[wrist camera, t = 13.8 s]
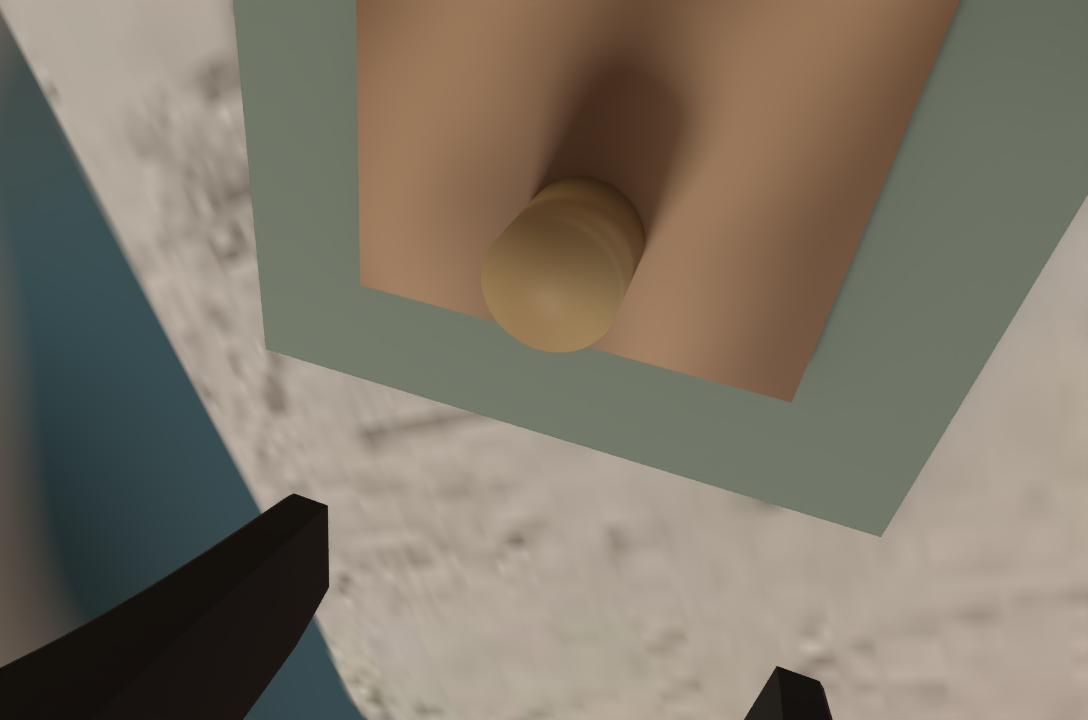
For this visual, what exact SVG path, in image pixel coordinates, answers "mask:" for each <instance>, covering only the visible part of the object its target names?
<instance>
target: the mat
mask: <svg viewBox="0 0 1088 720" xmlns="http://www.w3.org/2000/svg"><path fill="white" fill-rule="evenodd" d="M233 6H234V16H235V27H236V37H237V48H238V59H239V69H240V80H241V90H242V101H243V111H244V122H245V133H246V143H247V154H248V164H249V175H250V186H251V196H252V207H253V217H254V228H255V238H256V249H257V260H258V270H259V281H260V291H261V302H262V312H263V323H264V334H265V344H266V349H267V350H271V351H274V352H277V353H281V354H284V355H287V356H290V357H294V358H297V359H300V360H303V361H307V362H310V363H313V364H316V365H320V366H323V367H326V368H330V369H333V370H336V371H339V372H343V373H346V374H349V375H352V376H356V377H359V378H362V379H366V380H369V381H372V382H375V383H379V384H382V385H385V386H388V387H392V388H395V389H398V390H402V391H405V392H408V393H411V394H415V395H418V396H421V397H424V398H428V399H431V400H434V401H438V402H441V403H444V404H447V405H451V406H454V407H457V408H460V409H464V410H467V411H470V412H474V413H477V414H480V415H483V416H487V417H490V418H493V419H496V420H500V421H503V422H506V423H510V424H513V425H516V426H519V427H523V428H526V429H529V430H532V431H536V432H539V433H542V434H545V435H549V436H552V437H555V438H559V439H562V440H565V441H568V442H572V443H575V444H578V445H581V446H585V447H588V448H591V449H595V450H598V451H601V452H604V453H608V454H611V455H614V456H617V457H621V458H624V459H627V460H631V461H634V462H637V463H640V464H644V465H647V466H650V467H653V468H657V469H660V470H663V471H667V472H670V473H673V474H676V475H680V476H683V477H686V478H689V479H693V480H696V481H699V482H703V483H706V484H709V485H712V486H716V487H719V488H722V489H725V490H729V491H732V492H735V493H739V494H742V495H745V496H748V497H752V498H755V499H758V500H761V501H765V502H768V503H771V504H775V505H778V506H781V507H784V508H788V509H791V510H794V511H797V512H801V513H804V514H807V515H810V516H814V517H817V518H820V519H824V520H827V521H830V522H833V523H837V524H840V525H843V526H846V527H850V528H853V529H856V530H860V531H863V532H866V533H869V534H873V535H876V536H879V537H881V536H882V534H883V533H884V531H885V529H886V528H887V526H888V525H889V523H890V521H891V520H892V518H893V516H894V515H895V513H896V511H897V510H898V508H899V506H900V505H901V503H902V501H903V500H904V498H905V496H906V495H907V493H908V491H909V490H910V488H911V486H912V485H913V483H914V481H915V480H916V478H917V476H918V475H919V473H920V472H921V470H922V468H923V467H924V465H925V463H926V462H927V460H928V458H929V457H930V455H931V453H932V452H933V450H934V448H935V447H936V445H937V443H938V442H939V440H940V438H941V437H942V435H943V433H944V432H945V430H946V428H947V427H948V425H949V423H950V422H951V420H952V418H953V417H954V415H955V414H956V412H957V410H958V409H959V407H960V405H961V404H962V402H963V400H964V399H965V397H966V395H967V394H968V392H969V390H970V389H971V387H972V385H973V384H974V382H975V380H976V379H977V377H978V375H979V374H980V372H981V370H982V369H983V367H984V365H985V364H986V362H987V360H988V359H989V357H990V356H991V354H992V352H993V351H994V349H995V347H996V346H997V344H998V342H999V341H1000V339H1001V337H1002V336H1003V334H1004V332H1005V331H1006V329H1007V327H1008V326H1009V324H1010V322H1011V321H1012V319H1013V317H1014V316H1015V314H1016V312H1017V311H1018V309H1019V307H1020V306H1021V304H1022V303H1023V301H1024V299H1025V298H1026V296H1027V294H1028V293H1029V291H1030V289H1031V288H1032V286H1033V284H1034V283H1035V281H1036V279H1037V278H1038V276H1039V274H1040V273H1041V271H1042V269H1043V268H1044V266H1045V264H1046V263H1047V261H1048V259H1049V258H1050V256H1051V254H1052V253H1053V251H1054V249H1055V248H1056V246H1057V245H1058V243H1059V241H1060V240H1061V238H1062V236H1063V235H1064V233H1065V231H1066V230H1067V228H1068V226H1069V225H1070V223H1071V221H1072V220H1073V218H1074V216H1075V215H1076V213H1077V211H1078V210H1079V208H1080V206H1081V205H1082V203H1083V201H1084V200H1085V198H1086V196H1087V195H1088V0H960V1H959V3H958V6H957V8H956V10H955V13H954V15H953V18H952V20H951V22H950V25H949V27H948V30H947V32H946V34H945V37H944V39H943V42H942V44H941V46H940V49H939V51H938V54H937V56H936V58H935V61H934V63H933V66H932V68H931V70H930V73H929V75H928V77H927V80H926V82H925V85H924V87H923V89H922V92H921V94H920V97H919V99H918V101H917V104H916V106H915V109H914V111H913V113H912V116H911V118H910V121H909V123H908V125H907V128H906V130H905V133H904V135H903V137H902V140H901V142H900V145H899V147H898V149H897V152H896V154H895V157H894V159H893V161H892V164H891V166H890V169H889V171H888V173H887V176H886V178H885V180H884V183H883V185H882V188H881V190H880V192H879V195H878V197H877V200H876V202H875V204H874V207H873V209H872V212H871V214H870V216H869V219H868V221H867V224H866V226H865V228H864V231H863V233H862V236H861V238H860V240H859V243H858V245H857V248H856V250H855V252H854V255H853V257H852V260H851V262H850V264H849V267H848V269H847V272H846V274H845V276H844V279H843V281H842V283H841V286H840V288H839V291H838V293H837V295H836V298H835V300H834V303H833V305H832V307H831V310H830V312H829V315H828V317H827V319H826V322H825V324H824V327H823V329H822V331H821V334H820V336H819V339H818V341H817V343H816V346H815V348H814V351H813V353H812V355H811V358H810V360H809V363H808V365H807V367H806V370H805V372H804V375H803V377H802V379H801V382H800V384H799V387H798V389H797V391H796V394H795V396H794V398H793V401H792V403H791V402H787V401H783V400H780V399H776V398H772V397H769V396H765V395H761V394H758V393H754V392H750V391H747V390H743V389H739V388H736V387H732V386H728V385H725V384H721V383H717V382H714V381H710V380H706V379H703V378H699V377H695V376H692V375H688V374H685V373H681V372H677V371H674V370H670V369H666V368H663V367H659V366H655V365H652V364H648V363H644V362H641V361H637V360H633V359H630V358H626V357H622V356H619V355H615V354H611V353H608V352H604V351H600V350H597V349H593V348H589V347H585V348H583V349H580V350H576V351H571V352H547V351H543V350H539V349H536V348H533V347H530V346H528V345H526V344H524V343H522V342H520V341H518V340H517V339H515V338H514V337H513V336H511V335H510V334H509V333H507V332H506V331H505V330H504V329H503V328H502V327H501V326H500V325H499V323H498V322H494V321H490V320H487V319H483V318H479V317H476V316H472V315H468V314H465V313H461V312H457V311H454V310H450V309H446V308H443V307H439V306H435V305H432V304H428V303H424V302H421V301H417V300H413V299H410V298H406V297H402V296H399V295H395V294H391V293H388V292H384V291H381V290H377V289H373V288H370V287H366V286H362V285H360V243H359V172H358V102H357V31H356V0H233Z"/></svg>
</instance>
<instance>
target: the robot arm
mask: <svg viewBox="0 0 1088 720" xmlns="http://www.w3.org/2000/svg"><path fill="white" fill-rule="evenodd" d="M328 588H329V549H328V505H325V504H322V503H319V502H316V501H314V500H311V499H308V498H305V497H302V496H300V495H297V494H292V495H290V496H288V497H286V498H285V499H283V500H282V501H280V502H279V503H277V504H276V505H274V506H273V507H271V508H270V509H268V510H267V511H265V512H264V513H262V514H261V515H260V516H258V517H257V518H255V519H254V520H252V521H251V522H249V523H248V524H246V525H245V526H243V527H242V528H240V529H239V530H237V531H236V532H234V533H233V534H231V535H230V536H228V537H227V538H225V539H224V540H222V541H221V542H219V543H218V544H216V545H215V546H213V547H212V548H210V549H209V550H207V551H205V552H204V553H202V554H201V555H199V556H197V557H196V558H194V559H193V560H191V561H190V562H188V563H187V564H185V565H183V566H182V567H180V568H179V569H177V570H175V571H174V572H172V573H171V574H169V575H168V576H166V577H165V578H163V579H161V580H159V581H158V582H156V583H155V584H153V585H151V586H150V587H148V588H146V589H145V590H143V591H141V592H140V593H138V594H136V595H134V596H133V597H131V598H129V599H127V600H126V601H124V602H122V603H121V604H119V605H117V606H115V607H114V608H112V609H110V610H108V611H107V612H105V613H103V614H102V615H100V616H98V617H96V618H95V619H93V620H91V621H89V622H88V623H86V624H84V625H82V626H80V627H78V628H77V629H75V630H73V631H71V632H69V633H67V634H66V635H64V636H62V637H60V638H58V639H56V640H54V641H52V642H50V643H49V644H47V645H45V646H43V647H41V648H39V649H37V650H35V651H33V652H31V653H29V654H27V655H25V656H23V657H21V658H19V659H17V660H15V661H13V662H11V663H9V664H7V665H5V666H3V667H1V668H0V720H243V719H244V717H245V716H246V715H247V713H248V712H249V711H250V709H251V708H252V706H253V705H254V704H255V702H256V701H257V700H258V698H259V697H260V695H261V694H262V693H263V691H264V690H265V688H266V687H267V686H268V684H269V683H270V682H271V680H272V678H273V677H274V676H275V675H276V673H277V672H278V670H279V669H280V668H281V666H282V665H283V663H284V662H285V661H286V659H287V658H288V656H289V655H290V653H291V652H292V651H293V649H294V648H295V646H296V645H297V643H298V641H299V640H300V638H301V636H302V634H303V633H304V631H305V629H306V628H307V626H308V624H309V622H310V621H311V619H312V617H313V615H314V613H315V612H316V610H317V608H318V606H319V604H320V603H321V601H322V599H323V597H324V595H325V593H326V592H327V590H328ZM744 720H833V719H832V716H831V713H830V709H829V706H828V702H827V699H826V695H825V691H824V688H823V686H822V685H821V683H820V681H818V680H815V679H812V678H809V677H806V676H804V675H801V674H798V673H795V672H792V671H790V670H787V669H784V668H781V667H778V666H777V667H776V668H775V670H774V671H773V673H772V675H771V676H770V678H769V680H768V681H767V683H766V685H765V686H764V688H763V689H762V691H761V693H760V694H759V696H758V698H757V699H756V701H755V703H754V704H753V706H752V707H751V709H750V711H749V712H748V714H747V716H746V717H745V719H744Z"/></svg>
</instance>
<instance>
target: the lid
mask: <svg viewBox="0 0 1088 720" xmlns="http://www.w3.org/2000/svg"><path fill="white" fill-rule="evenodd" d="M959 1H960V0H356V31H357V102H358V172H359V243H360V285H362V286H366V287H370V288H373V289H377V290H381V291H384V292H388V293H391V294H395V295H399V296H402V297H406V298H410V299H413V300H417V301H421V302H424V303H428V304H432V305H435V306H439V307H443V308H446V309H450V310H454V311H457V312H461V313H465V314H468V315H472V316H476V317H479V318H483V319H487V320H490V321H494V322H498V323H499V325H500V326H501V327H502V328H503V329H504V330H505V331H506V332H507V333H509V334H510V335H511V336H513V337H514V338H515V339H517V340H518V341H520V342H522V343H524V344H526V345H528V346H530V347H533V348H536V349H539V350H543V351H547V352H571V351H576V350H580V349H583V348H585V347H589V348H593V349H597V350H600V351H604V352H608V353H611V354H615V355H619V356H622V357H626V358H630V359H633V360H637V361H641V362H644V363H648V364H652V365H655V366H659V367H663V368H666V369H670V370H674V371H677V372H681V373H685V374H688V375H692V376H695V377H699V378H703V379H706V380H710V381H714V382H717V383H721V384H725V385H728V386H732V387H736V388H739V389H743V390H747V391H750V392H754V393H758V394H761V395H765V396H769V397H772V398H776V399H780V400H783V401H787V402H791V403H792V401H793V398H794V396H795V394H796V391H797V389H798V387H799V384H800V382H801V379H802V377H803V375H804V372H805V370H806V367H807V365H808V363H809V360H810V358H811V355H812V353H813V351H814V348H815V346H816V343H817V341H818V339H819V336H820V334H821V331H822V329H823V327H824V324H825V322H826V319H827V317H828V315H829V312H830V310H831V307H832V305H833V303H834V300H835V298H836V295H837V293H838V291H839V288H840V286H841V283H842V281H843V279H844V276H845V274H846V272H847V269H848V267H849V264H850V262H851V260H852V257H853V255H854V252H855V250H856V248H857V245H858V243H859V240H860V238H861V236H862V233H863V231H864V228H865V226H866V224H867V221H868V219H869V216H870V214H871V212H872V209H873V207H874V204H875V202H876V200H877V197H878V195H879V192H880V190H881V188H882V185H883V183H884V180H885V178H886V176H887V173H888V171H889V169H890V166H891V164H892V161H893V159H894V157H895V154H896V152H897V149H898V147H899V145H900V142H901V140H902V137H903V135H904V133H905V130H906V128H907V125H908V123H909V121H910V118H911V116H912V113H913V111H914V109H915V106H916V104H917V101H918V99H919V97H920V94H921V92H922V89H923V87H924V85H925V82H926V80H927V77H928V75H929V73H930V70H931V68H932V66H933V63H934V61H935V58H936V56H937V54H938V51H939V49H940V46H941V44H942V42H943V39H944V37H945V34H946V32H947V30H948V27H949V25H950V22H951V20H952V18H953V15H954V13H955V10H956V8H957V6H958V3H959Z"/></svg>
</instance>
